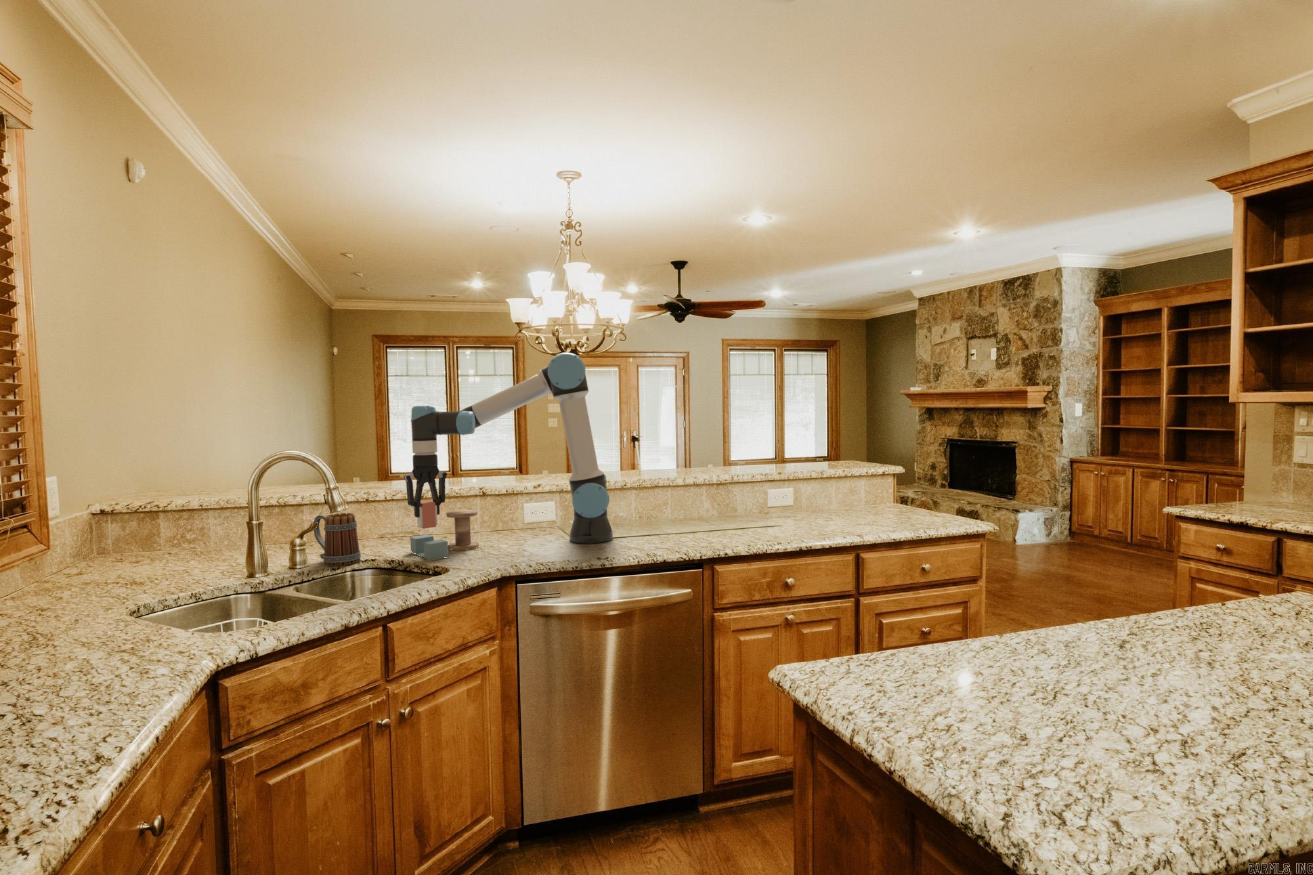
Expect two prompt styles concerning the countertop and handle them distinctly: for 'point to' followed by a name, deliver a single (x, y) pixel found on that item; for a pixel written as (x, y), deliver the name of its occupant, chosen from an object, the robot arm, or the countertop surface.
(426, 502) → the red rectangular block
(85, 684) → the countertop surface
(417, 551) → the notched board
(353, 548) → the mug
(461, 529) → the bobbin
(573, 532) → the robot arm
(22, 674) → the countertop surface
